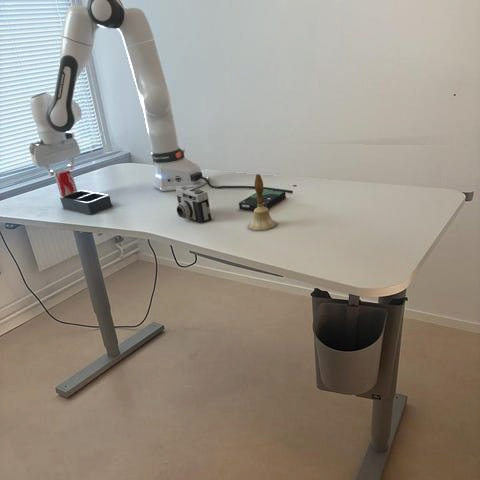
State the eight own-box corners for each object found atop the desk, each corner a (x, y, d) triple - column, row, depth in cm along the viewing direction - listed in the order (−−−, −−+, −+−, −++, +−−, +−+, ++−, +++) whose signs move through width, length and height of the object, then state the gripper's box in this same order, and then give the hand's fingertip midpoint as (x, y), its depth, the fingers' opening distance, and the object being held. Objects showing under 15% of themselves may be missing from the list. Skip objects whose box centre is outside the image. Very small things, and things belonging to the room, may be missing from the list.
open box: (112, 206, 192) (109, 194, 190) (90, 215, 186) (87, 203, 184) (84, 200, 204) (81, 189, 201) (63, 208, 198) (59, 197, 195)
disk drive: (264, 213, 164) (286, 198, 174) (263, 205, 162) (285, 190, 172) (239, 210, 169) (261, 196, 179) (238, 202, 168) (260, 188, 178)
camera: (170, 218, 171) (165, 190, 166) (190, 211, 175) (185, 183, 170) (192, 227, 161) (186, 197, 156) (212, 219, 165) (208, 190, 160)
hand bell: (257, 220, 159) (251, 170, 151) (280, 222, 155) (276, 171, 147) (244, 229, 153) (238, 178, 145) (268, 231, 149) (263, 179, 141)
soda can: (74, 201, 205) (65, 172, 199) (59, 202, 207) (50, 173, 201) (82, 195, 211) (73, 167, 205) (67, 196, 213) (58, 168, 206)
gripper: (31, 144, 188) (43, 180, 195) (77, 132, 200) (86, 166, 207) (23, 143, 191) (35, 178, 199) (68, 131, 204) (78, 165, 211)
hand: (61, 172), depth 203 cm, fingers open, 8 cm apart
